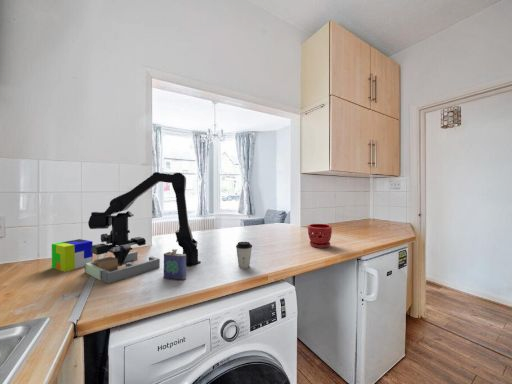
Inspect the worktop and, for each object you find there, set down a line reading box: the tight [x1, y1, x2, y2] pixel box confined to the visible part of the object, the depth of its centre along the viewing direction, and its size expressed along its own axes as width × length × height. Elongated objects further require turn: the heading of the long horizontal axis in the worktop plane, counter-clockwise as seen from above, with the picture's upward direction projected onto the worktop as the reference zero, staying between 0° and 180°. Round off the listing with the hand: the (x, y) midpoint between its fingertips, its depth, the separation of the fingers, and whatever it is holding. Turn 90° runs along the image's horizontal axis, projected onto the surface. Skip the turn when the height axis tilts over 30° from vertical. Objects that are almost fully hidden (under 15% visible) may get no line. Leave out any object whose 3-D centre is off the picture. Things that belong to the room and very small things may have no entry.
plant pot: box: [307, 223, 333, 249], centre depth 127 cm, size 13×13×12 cm
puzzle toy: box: [51, 238, 94, 273], centre depth 94 cm, size 10×10×10 cm
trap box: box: [84, 251, 161, 284], centre depth 90 cm, size 19×20×4 cm
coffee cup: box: [235, 241, 253, 269], centre depth 93 cm, size 7×7×10 cm
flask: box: [163, 248, 187, 281], centre depth 81 cm, size 9×3×11 cm, turn 74°
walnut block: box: [93, 256, 119, 272], centre depth 86 cm, size 6×6×5 cm
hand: (120, 265), depth 91 cm, fingers closed
